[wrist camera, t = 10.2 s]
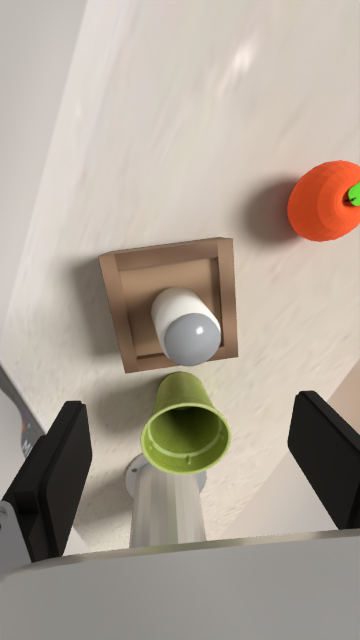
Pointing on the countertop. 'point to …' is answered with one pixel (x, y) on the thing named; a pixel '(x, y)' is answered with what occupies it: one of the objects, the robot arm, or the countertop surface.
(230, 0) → the countertop surface
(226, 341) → the tray
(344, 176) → the clementine
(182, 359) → the white rounded cylinder
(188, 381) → the plant pot
